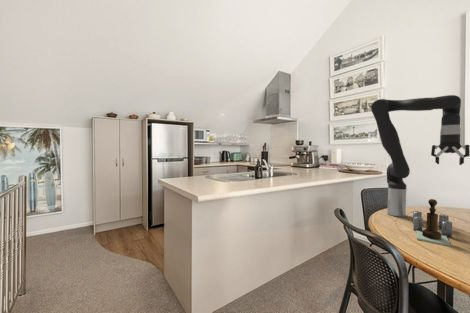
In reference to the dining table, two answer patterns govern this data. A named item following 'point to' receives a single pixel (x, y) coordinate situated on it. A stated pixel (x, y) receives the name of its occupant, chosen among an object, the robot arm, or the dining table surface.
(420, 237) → the green mat
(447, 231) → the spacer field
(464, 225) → the dining table surface
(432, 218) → the wooden pepper mill
